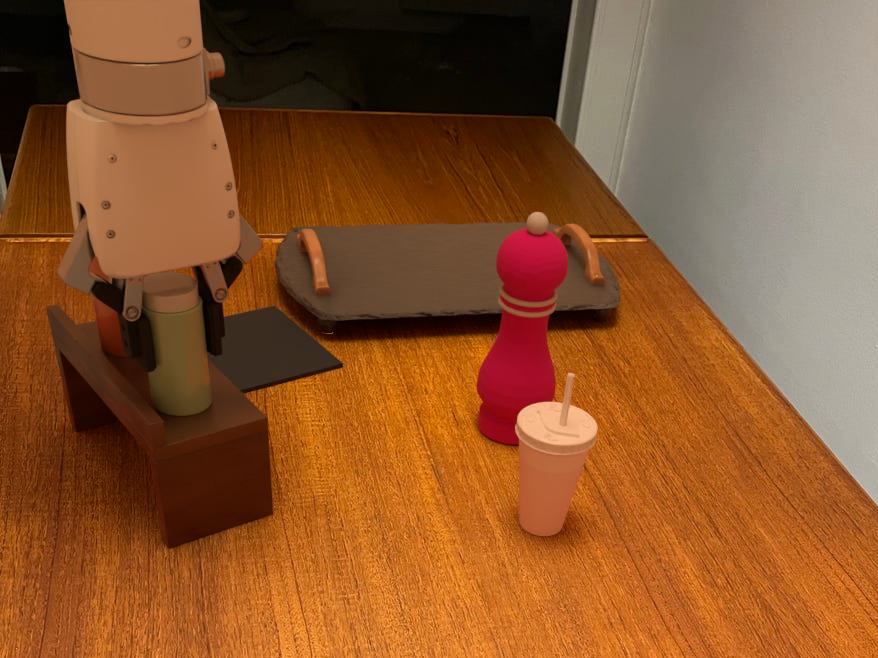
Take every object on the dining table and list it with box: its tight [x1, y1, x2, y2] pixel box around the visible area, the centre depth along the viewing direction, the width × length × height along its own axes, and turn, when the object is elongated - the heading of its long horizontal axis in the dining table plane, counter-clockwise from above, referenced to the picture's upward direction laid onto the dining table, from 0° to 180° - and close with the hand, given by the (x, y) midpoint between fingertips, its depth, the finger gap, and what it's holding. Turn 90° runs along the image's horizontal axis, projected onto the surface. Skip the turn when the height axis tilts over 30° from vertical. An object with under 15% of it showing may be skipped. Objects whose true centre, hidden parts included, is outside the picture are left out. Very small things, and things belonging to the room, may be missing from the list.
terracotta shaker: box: [89, 257, 148, 357], centre depth 78 cm, size 4×4×9 cm
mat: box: [208, 305, 344, 394], centre depth 100 cm, size 14×14×1 cm
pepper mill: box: [476, 211, 568, 446], centre depth 88 cm, size 7×7×20 cm
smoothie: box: [515, 372, 599, 537], centre depth 80 cm, size 6×6×14 cm
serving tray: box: [273, 221, 622, 333], centre depth 113 cm, size 39×23×6 cm, turn 106°
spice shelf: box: [45, 303, 274, 549], centre depth 81 cm, size 20×9×11 cm, turn 37°
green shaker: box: [142, 271, 212, 416], centre depth 73 cm, size 4×4×9 cm
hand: (176, 353), depth 73 cm, fingers closed on green shaker, 4 cm apart
